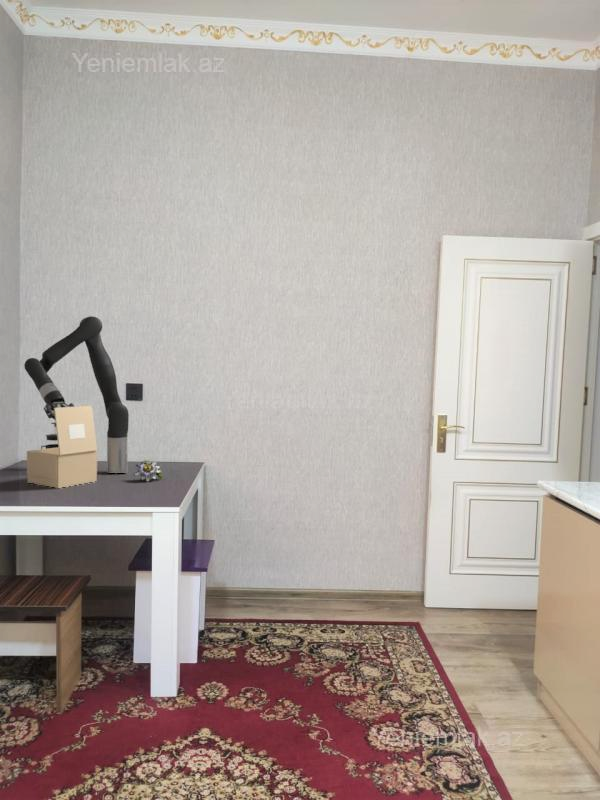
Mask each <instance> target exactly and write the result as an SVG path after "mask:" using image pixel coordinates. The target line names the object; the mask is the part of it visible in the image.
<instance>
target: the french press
mask: <svg viewBox="0 0 600 800" xmlns="http://www.w3.org/2000/svg"><path fill="white" fill-rule="evenodd" d="M50 424H51V425H54V433H51V434H50V433H49V434H45V437H46V441H52V442H53V441H54V443H51V444H45V445H41V447H40V449H43V448H45V449H48V448H57V447H58V443H57V441H58V440H57V431H56V422H51V423H50Z"/></svg>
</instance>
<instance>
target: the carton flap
mask: <svg viewBox="0 0 600 800" xmlns="http://www.w3.org/2000/svg"><path fill="white" fill-rule="evenodd" d="M54 414H55V420H54V421H55V422H54V423H56V434H57V440H56V441H57V444H58V448H59V455H63V454H71V453H79V452H87V451H95V450H97V451H98V448H97V447H98V446H97V439H96V437H97V436H96V431H95V429H96V428H95V422H94V413H93V406H92V405H84V406H83V405H79V406H75V407H59V408H54Z"/></svg>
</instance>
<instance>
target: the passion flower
mask: <svg viewBox="0 0 600 800" xmlns="http://www.w3.org/2000/svg"><path fill="white" fill-rule="evenodd" d="M160 467H161V466H159V465H157V460H156V461H150V460H149V459H148V458H145V459H144V460H143V461H142V462H137V463H135V469H136V470H137V471H136V472H135V473H134V474H133V475H134V476H140V480H141V481H145V482H146V481H149V482H150V479H153V480H156V478H157V477H158V478H159V479H160V480H163V475H162V473H163V472H162V470H161V469H160ZM156 475H157V476H156Z"/></svg>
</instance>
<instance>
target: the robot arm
mask: <svg viewBox="0 0 600 800" xmlns="http://www.w3.org/2000/svg"><path fill="white" fill-rule="evenodd" d="M102 330H103V323H102V320H100V319H99V318H98V317H96V316H94V315H93V316H91V315H90V316H87V317H84V318H82V319H81V320H80V322H79V325H78V327H76V329H75V330H73V331H72V332H71V333H70V334H68V335H67V336H65V337H63V338H61V339H60V340H58V341H56V342H55V343H54V344H52V345H51V346H49V347H48V348H47V349H45V350H44V351H43V352H42V354H41V359H40V360H39V359H38V358H35V357H31V358H28V359H26V360H25V362H24V364H23V365H24V367H23V368H24V369H25V371H26V373H27V374H28V375H29V377H30V378H31V379H32V382H33V383H34V385H35V388H36V389H37V390H38V393H39V394H40V396H41V399H42V400H43V401H44V403H45V406H44V407H43V410H44V412H45V414H46V416H47V417H48V419H53V420H54V421H55V414H54V408H59V407H76V406H75V405H74V403H72V402H70V403H69V404H67V403H66V402H65V397H64V396H63V395H62V393H61V391H60V390H59V388H58V387H57V385H56V384H55V383H54V382H53V380H52V379H51V377H50V376H49V375H48V373H49V371H50V370H51V369H52V368H53V366H54V365H55V364H57V362H59V361H61V359H63V358H64V357H66V356H67V355H68V354H69V353H71V351H73V350H74V349H76V347H78V346H79V345H81V344H83V343H84V344H85V345H86V348H87V352H88V356H89V360H90V364H91V368H92V371H93V373H94V377H95V380H96V383H97V386H98V389H99V390H100V391H99V392H100V393H101V396H102V399H103V405H104V408H105V409H104V410H105V413H106V417H107V419H108V422H107V423H108V425H107V427H108V428H107V432H106V433H107V434H106V441H107V442H106V452H107V453H106V473H107V472H108V473H125V474H128V433H129V421H130V420H129V419H130V418H129V409H128V408H127V406H126V405H124V404H123V403H122V400H121V397H120V395H119V392H118V385H117V384H118V383H117V377H116V372H115V368H114V365H113V362H112V360H111V358H110V356H109V354H108V352H107V350H106V349H105V347H104V343H103V341H102V338H101V332H102ZM108 473H107V474H108Z"/></svg>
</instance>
